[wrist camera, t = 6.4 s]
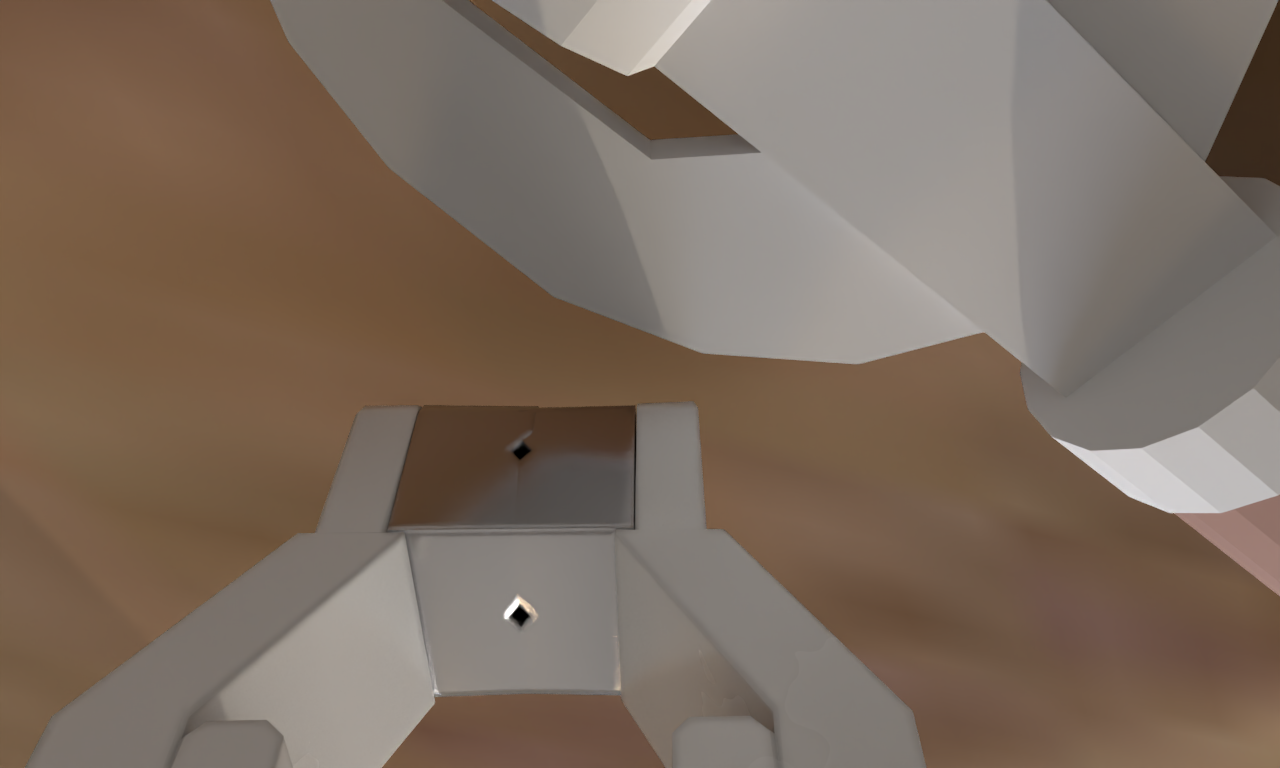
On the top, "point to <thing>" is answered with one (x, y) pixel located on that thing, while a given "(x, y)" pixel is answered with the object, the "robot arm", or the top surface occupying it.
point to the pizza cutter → (881, 198)
